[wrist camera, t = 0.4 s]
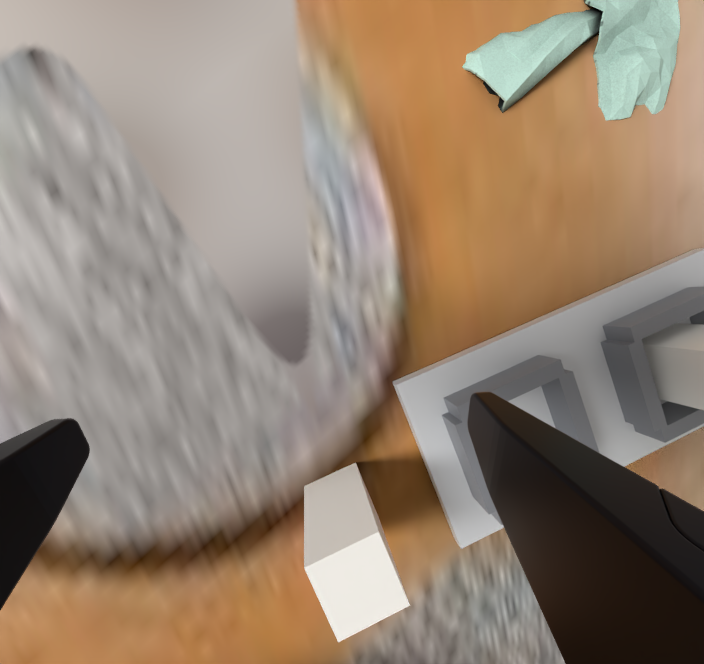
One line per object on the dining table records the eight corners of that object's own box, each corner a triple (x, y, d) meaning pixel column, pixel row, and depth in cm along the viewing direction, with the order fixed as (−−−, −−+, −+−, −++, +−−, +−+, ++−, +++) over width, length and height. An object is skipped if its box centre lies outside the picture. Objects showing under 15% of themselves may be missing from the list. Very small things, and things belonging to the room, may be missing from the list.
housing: (734, 398, 26) (921, 438, 18) (454, 538, 24) (530, 654, 16) (693, 249, 25) (876, 221, 17) (392, 381, 22) (440, 421, 14)
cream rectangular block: (377, 515, 23) (410, 605, 16) (327, 539, 22) (338, 642, 15) (355, 462, 22) (378, 531, 15) (304, 486, 22) (304, 567, 15)
